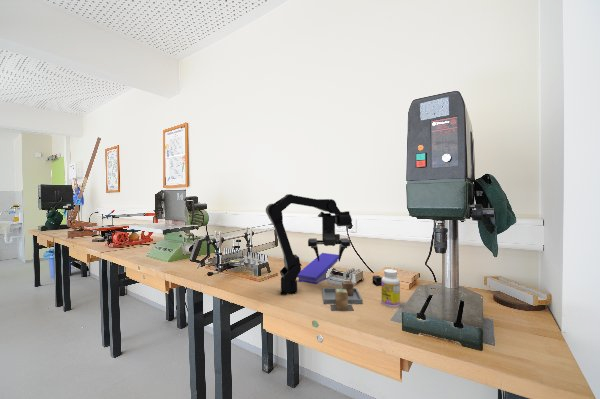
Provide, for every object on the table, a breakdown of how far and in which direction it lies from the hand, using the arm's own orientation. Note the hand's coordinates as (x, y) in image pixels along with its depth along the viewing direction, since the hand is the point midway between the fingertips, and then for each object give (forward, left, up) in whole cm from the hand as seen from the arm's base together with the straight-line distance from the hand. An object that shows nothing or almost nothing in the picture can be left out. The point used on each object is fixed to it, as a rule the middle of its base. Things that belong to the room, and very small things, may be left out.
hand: (328, 261), depth 124 cm
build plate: (+23, +4, -13) cm, 26 cm away
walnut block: (+7, -9, -12) cm, 17 cm away
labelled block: (+3, -23, -11) cm, 26 cm away
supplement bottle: (+22, -19, -12) cm, 32 cm away
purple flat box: (-3, +19, -13) cm, 23 cm away
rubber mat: (+3, -23, -12) cm, 27 cm away
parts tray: (+4, -13, -12) cm, 18 cm away
